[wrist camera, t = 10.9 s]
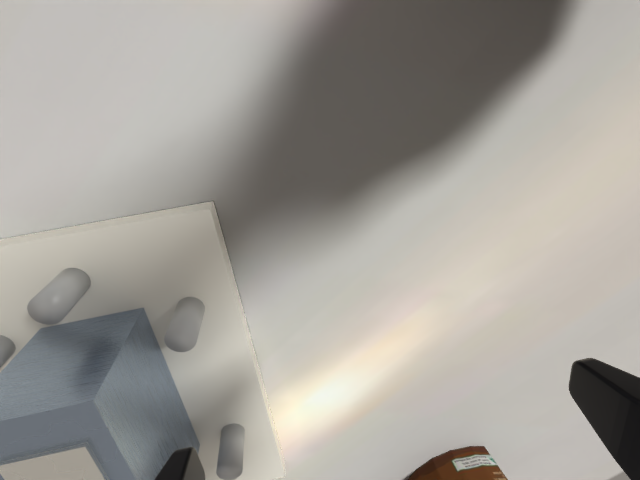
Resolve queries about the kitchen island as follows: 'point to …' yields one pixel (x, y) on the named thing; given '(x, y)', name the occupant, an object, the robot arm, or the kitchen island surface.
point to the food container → (460, 466)
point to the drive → (91, 403)
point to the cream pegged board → (155, 318)
